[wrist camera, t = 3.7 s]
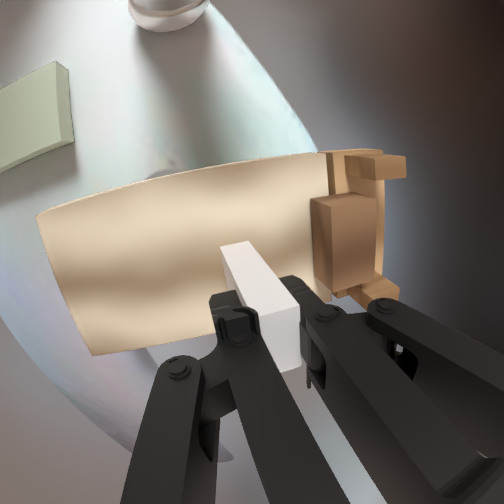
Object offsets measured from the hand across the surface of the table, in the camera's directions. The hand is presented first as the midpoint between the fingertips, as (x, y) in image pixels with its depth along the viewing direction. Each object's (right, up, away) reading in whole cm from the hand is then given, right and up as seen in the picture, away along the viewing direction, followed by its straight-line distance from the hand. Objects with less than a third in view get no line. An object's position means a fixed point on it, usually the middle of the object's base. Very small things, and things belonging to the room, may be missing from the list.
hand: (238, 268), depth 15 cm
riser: (-21, +12, +1) cm, 24 cm away
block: (+6, +2, +2) cm, 7 cm away
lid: (-3, +1, +3) cm, 4 cm away
